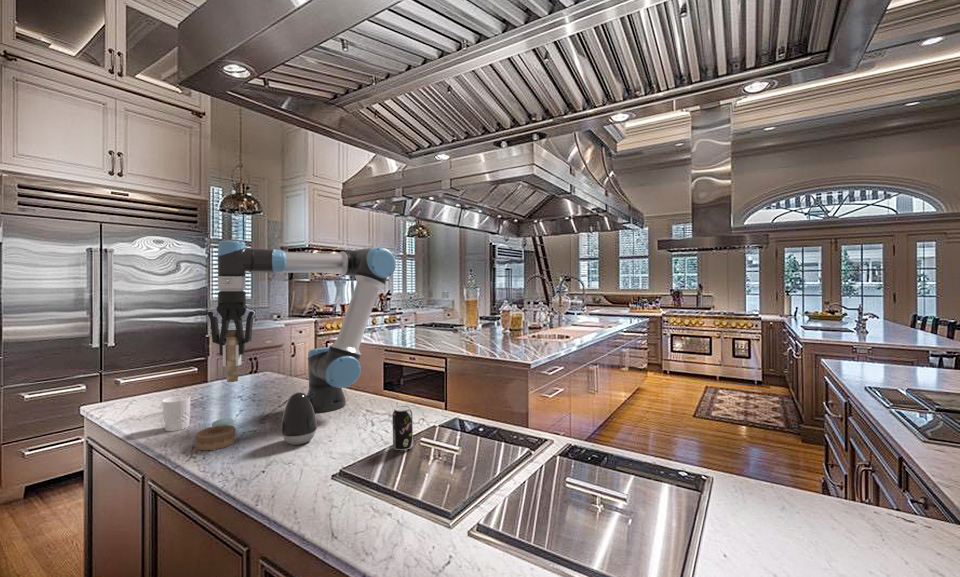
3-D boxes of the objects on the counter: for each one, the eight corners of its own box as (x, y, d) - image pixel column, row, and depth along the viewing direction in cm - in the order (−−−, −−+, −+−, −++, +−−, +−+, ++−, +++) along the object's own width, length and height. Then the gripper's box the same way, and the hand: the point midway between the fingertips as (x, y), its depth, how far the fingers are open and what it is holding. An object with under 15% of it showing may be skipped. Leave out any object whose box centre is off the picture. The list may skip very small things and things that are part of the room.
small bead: (236, 428, 145) (235, 418, 145) (229, 434, 139) (229, 424, 139) (216, 429, 143) (216, 419, 143) (209, 436, 138) (208, 425, 138)
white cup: (196, 424, 149) (195, 395, 149) (178, 432, 141) (177, 402, 141) (176, 423, 150) (175, 395, 150) (156, 431, 142) (155, 402, 142)
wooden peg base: (239, 436, 137) (239, 424, 136) (227, 448, 127) (227, 435, 127) (205, 439, 135) (204, 426, 135) (190, 452, 125) (189, 438, 125)
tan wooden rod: (239, 379, 136) (239, 329, 136) (235, 381, 133) (235, 330, 133) (229, 380, 136) (228, 329, 135) (225, 382, 133) (225, 330, 132)
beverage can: (416, 445, 127) (415, 405, 126) (407, 453, 121) (406, 411, 121) (399, 443, 129) (398, 404, 128) (389, 451, 123) (388, 410, 123)
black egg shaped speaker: (324, 440, 132) (322, 391, 132) (290, 451, 124) (288, 399, 124) (308, 432, 139) (307, 386, 138) (275, 442, 131) (274, 393, 131)
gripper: (198, 290, 129) (198, 368, 129) (255, 290, 132) (255, 366, 132) (209, 290, 136) (209, 363, 136) (263, 290, 139) (263, 362, 139)
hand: (232, 365), depth 134 cm, fingers closed on tan wooden rod, 3 cm apart
